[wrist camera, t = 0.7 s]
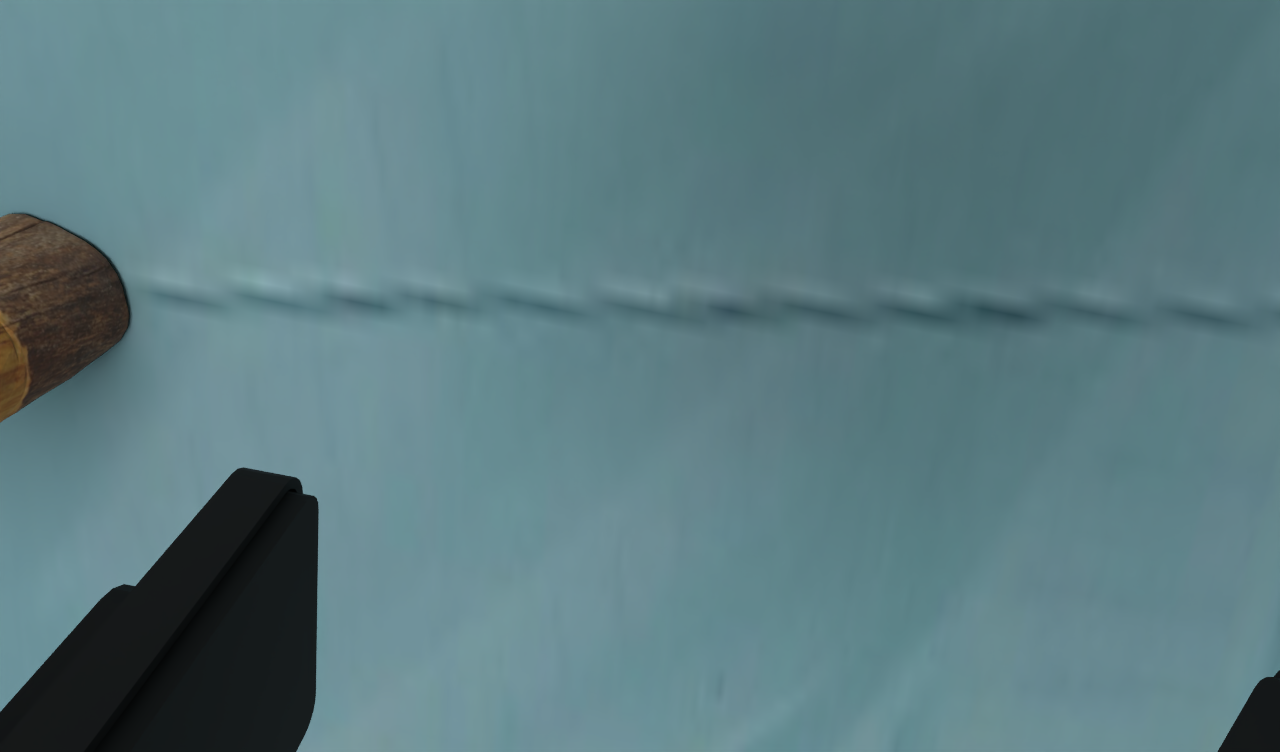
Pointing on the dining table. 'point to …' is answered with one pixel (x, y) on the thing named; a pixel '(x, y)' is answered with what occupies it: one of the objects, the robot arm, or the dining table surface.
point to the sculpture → (51, 308)
